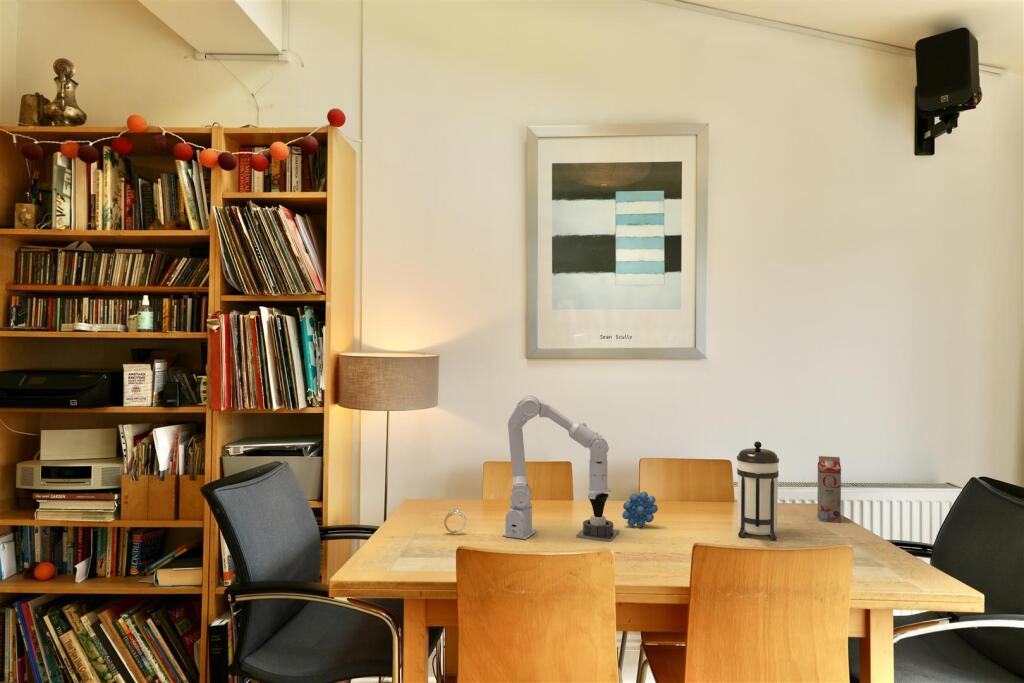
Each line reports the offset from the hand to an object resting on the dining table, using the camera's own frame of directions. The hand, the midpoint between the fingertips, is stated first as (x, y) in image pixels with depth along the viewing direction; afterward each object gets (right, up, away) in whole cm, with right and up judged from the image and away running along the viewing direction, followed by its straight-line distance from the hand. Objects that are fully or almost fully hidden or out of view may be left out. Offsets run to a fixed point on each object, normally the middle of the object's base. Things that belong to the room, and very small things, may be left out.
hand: (598, 516), depth 217 cm
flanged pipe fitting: (0, -6, 0) cm, 6 cm away
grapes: (+15, -6, +10) cm, 19 cm away
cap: (0, -5, 0) cm, 5 cm away
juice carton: (+83, -6, +19) cm, 85 cm away
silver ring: (-46, -6, 0) cm, 46 cm away
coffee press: (+51, -6, -1) cm, 51 cm away
